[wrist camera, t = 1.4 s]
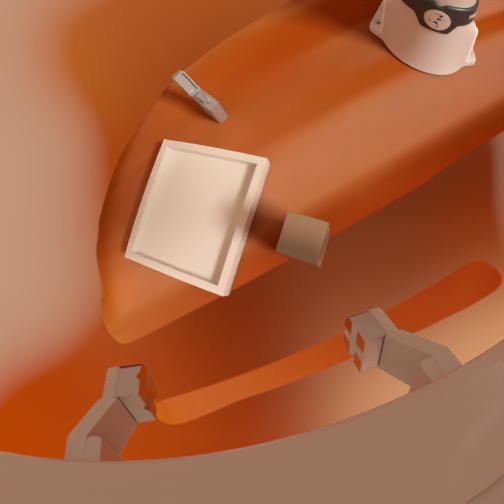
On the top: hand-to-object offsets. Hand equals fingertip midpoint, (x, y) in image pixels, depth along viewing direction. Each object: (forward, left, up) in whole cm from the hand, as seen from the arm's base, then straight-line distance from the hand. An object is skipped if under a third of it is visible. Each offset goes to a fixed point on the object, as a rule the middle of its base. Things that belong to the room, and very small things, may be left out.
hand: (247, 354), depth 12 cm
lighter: (-22, -22, -27) cm, 42 cm away
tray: (-6, -18, -27) cm, 33 cm away
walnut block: (-6, -2, -27) cm, 28 cm away
